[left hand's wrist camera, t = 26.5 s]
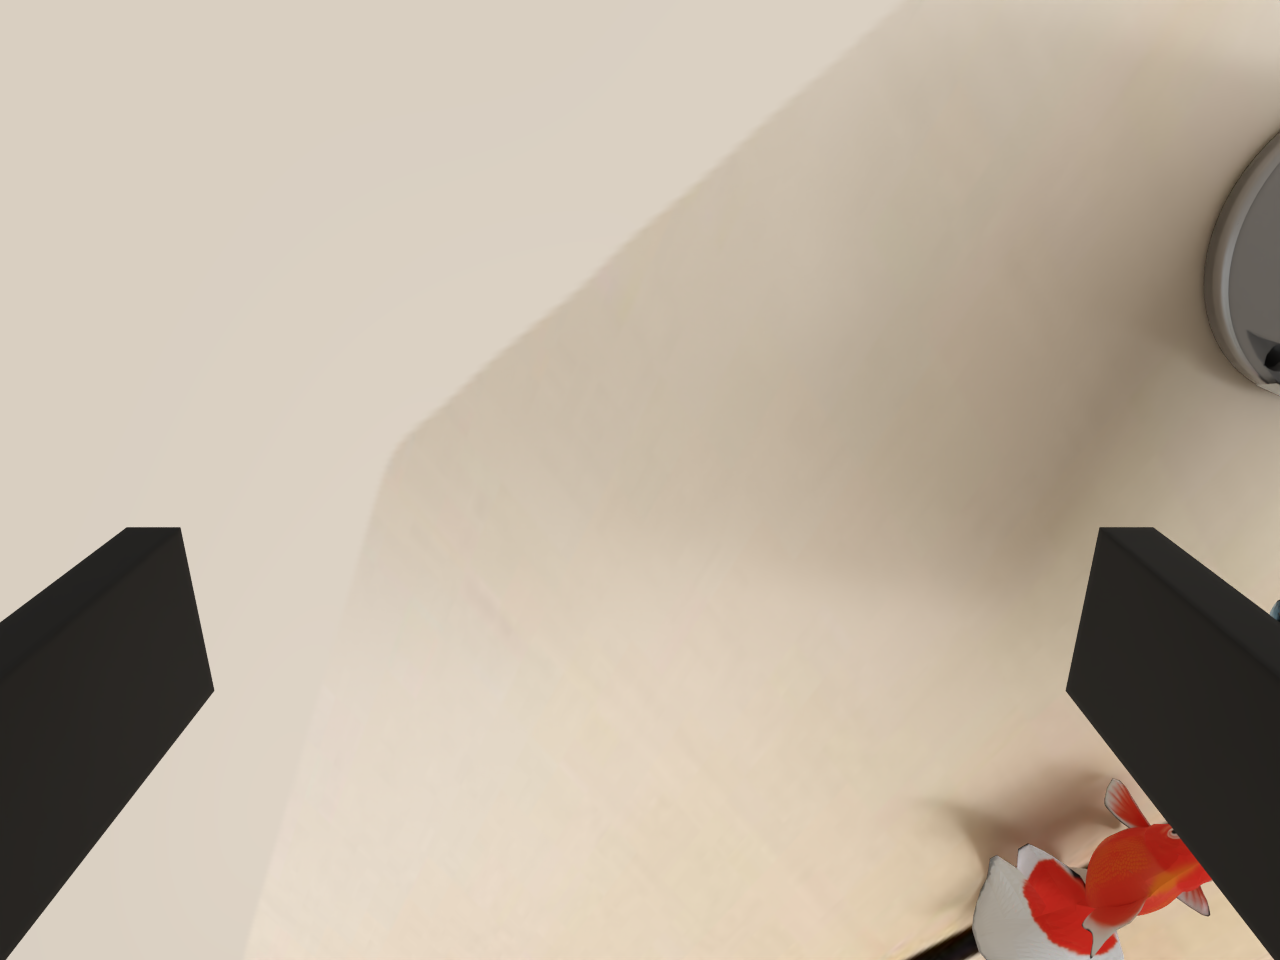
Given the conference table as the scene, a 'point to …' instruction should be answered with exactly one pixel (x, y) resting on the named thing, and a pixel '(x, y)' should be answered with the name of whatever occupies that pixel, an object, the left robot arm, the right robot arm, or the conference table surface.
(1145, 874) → the fish
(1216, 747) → the left robot arm
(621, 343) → the conference table surface
